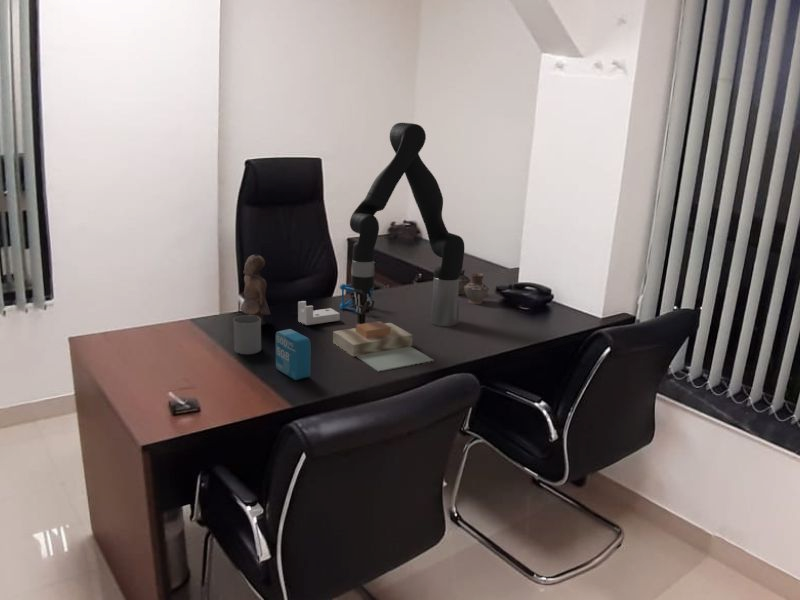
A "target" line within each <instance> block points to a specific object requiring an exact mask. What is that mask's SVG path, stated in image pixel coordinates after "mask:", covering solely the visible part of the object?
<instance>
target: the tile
mask: <svg viewBox="0 0 800 600" xmlns="http://www.w3.org/2000/svg"><path fill="white" fill-rule="evenodd" d="M355 328H356V332H357V333H358V334H360V335H361V336H363V337H365V338H372V337H378V336H385V335H390V328H391V327H389V326H387V325H386V324H385V323H383V322H382V321H380V320H378V321H372V322H365V323H364V324H359V323H357V324H355Z"/></svg>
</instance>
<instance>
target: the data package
mask: <svg viewBox="0 0 800 600" xmlns="http://www.w3.org/2000/svg"><path fill="white" fill-rule="evenodd" d="M311 345H312V344H311V340H310V339H309V337H307V336H305V335H303V334H301V333H299V332H298V331H295V330H293V329H291V328H287V329H283V330H279V331H276V333H275V368H276V369H277V370H278V371H280V372H281V373H282V374H284V375H286V376H288V377H289V378H291V379H293V380H295V381H297V380H303V379H305V378H309V377H310V376H311V350H312V349H311Z"/></svg>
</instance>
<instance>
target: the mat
mask: <svg viewBox="0 0 800 600" xmlns="http://www.w3.org/2000/svg"><path fill="white" fill-rule="evenodd" d="M356 358H357V359H359V360H360V361H362V362H363V363H364V364H365V365H367V366H370V367H371V368H372V369H373V370H375V371H376V372H378V373H380V371H381V372H384V371H390V370H395V369H400V368H406V367H410V366H411V365H412V366H416V365H415V364H417V365H421V364H420V363H422V364H427V363H432V362H434V361H435V360H434V359H433V358H431V357H429V356H427V355H426V354H424V353H422V352H421V351H420V350H417V349H416V348H414V347H413V346H412V347H411V346H409V347H404V348H398V349H392V350H387V351H381V352H375V353H370V354H364V355H358V356H356ZM431 361H432V362H431ZM426 362H427V363H426ZM405 366H406V367H405Z"/></svg>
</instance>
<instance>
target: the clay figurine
mask: <svg viewBox="0 0 800 600" xmlns="http://www.w3.org/2000/svg"><path fill="white" fill-rule="evenodd" d="M265 265H266V261H265V259H264V257H263V256H261V255H260V254H252V255H250V256H248V258H247V259H246V261H245V263H244V266H243V267H244V269H243V272H242V273H243V275H244V277H243V282H244V288H243V296H244V300H243V301H242V303H241V305H240V311H241V312H242V313H244V314H246V315H251V316H257V317H259V318H260V319H261V326H263V325H265V324H266V321H264V316H270V315H271V312H270V311H271V310H270V308H269V306H268V303H267V299H266V290H267V286H268V285H267V281H266V279H264V278H263V277H262V276H261V275H260V270H262V269H263V268H264V267H265Z"/></svg>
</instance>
